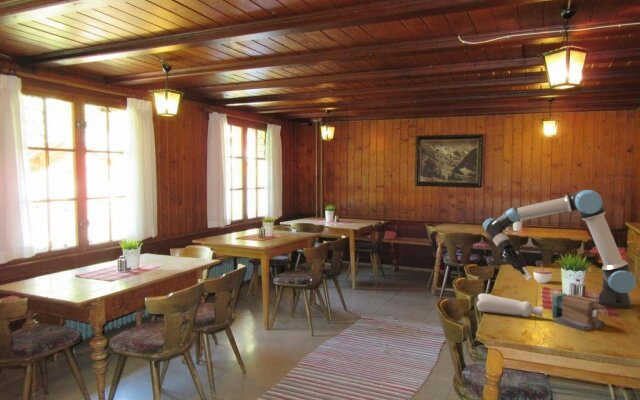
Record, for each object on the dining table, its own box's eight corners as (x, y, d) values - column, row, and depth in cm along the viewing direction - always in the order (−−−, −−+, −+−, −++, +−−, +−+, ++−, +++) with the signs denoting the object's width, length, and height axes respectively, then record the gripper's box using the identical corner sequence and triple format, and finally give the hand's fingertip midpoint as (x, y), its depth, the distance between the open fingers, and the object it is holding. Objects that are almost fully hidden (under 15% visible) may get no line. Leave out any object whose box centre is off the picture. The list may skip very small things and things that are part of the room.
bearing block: (575, 317, 227) (576, 293, 226) (604, 325, 215) (605, 300, 214) (554, 322, 219) (555, 297, 218) (583, 331, 207) (584, 304, 206)
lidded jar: (550, 285, 291) (551, 270, 290) (531, 282, 296) (532, 268, 296) (552, 281, 300) (552, 267, 299) (534, 279, 305) (534, 265, 305)
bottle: (475, 307, 232) (541, 318, 218) (478, 290, 236) (543, 299, 222) (477, 313, 239) (541, 323, 225) (480, 296, 243) (543, 306, 229)
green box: (562, 315, 228) (563, 293, 228) (599, 325, 213) (600, 302, 212) (552, 317, 225) (553, 295, 224) (589, 328, 209) (590, 304, 208)
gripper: (507, 246, 259) (533, 281, 245) (490, 248, 252) (516, 284, 239) (515, 237, 254) (542, 273, 240) (498, 239, 247) (525, 276, 234)
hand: (529, 279), depth 239 cm, fingers closed
